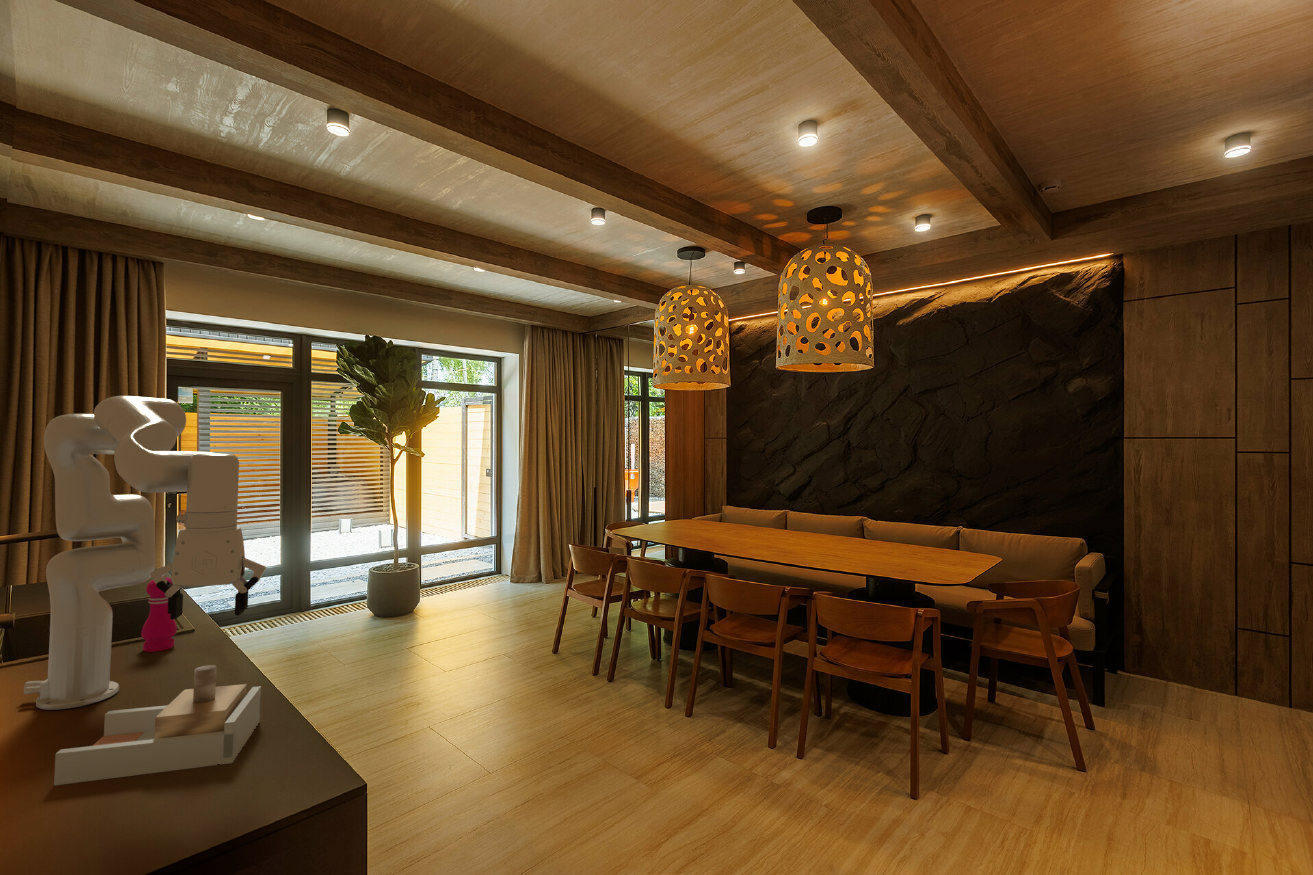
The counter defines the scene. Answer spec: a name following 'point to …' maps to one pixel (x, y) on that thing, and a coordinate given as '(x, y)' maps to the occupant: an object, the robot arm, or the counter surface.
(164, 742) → the bay
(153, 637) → the pepper mill
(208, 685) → the wooden block with knob
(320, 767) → the counter surface
